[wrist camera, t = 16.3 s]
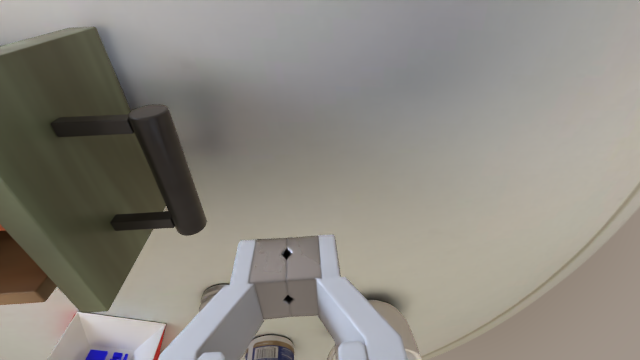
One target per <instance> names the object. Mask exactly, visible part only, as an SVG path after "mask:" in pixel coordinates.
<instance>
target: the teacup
mask: <svg viewBox="0 0 640 360" xmlns="http://www.w3.org/2000/svg"><path fill="white" fill-rule="evenodd" d="M368 301H369V302H370V303H371V304H372V305H373V307H374V308H375V309H376V310H377V311H378V312H379V313H380V314H381V315H382V316H383V317H384V318H385V319H386V320H387V322H388V323H389V324H390V325H391V326H392V327H393V328H394V329H395V330H396V331H397V332H398V333H399V334H400V335H401V337H402V340H403V344H404V347H405V351H406V354H407V358H408V360H422V359H421V356H420V353H419V350H418V347H417V344H416V341H415V339H414V336H413V334H412V331H411V329H410V327H409V324H408V322H407V321H406V319H405V317H404V316H403V315H402V314H401V313H400V312H399V311H398V310H397V309H396V308H395V307H394V306H392V305H390V304H388V303H386V302H382V301H379V300H368ZM338 348H339V347H338V346H337V344H336V343H335V346H334V347H333V348H332V350H331V351H330V353H329V355H328V358H327V360H332V359H333V356H334V355H335V353H336V360H338Z"/></svg>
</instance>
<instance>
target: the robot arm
mask: <svg viewBox="0 0 640 360" xmlns="http://www.w3.org/2000/svg"><path fill="white" fill-rule="evenodd" d="M314 315H318V316H319V318H320V320H321V321H322V323H323V324H324V326H325V327H326V329H327V330H328V332H329V333H330V335H331V336H332V338H333V339H334V341H335V343H336V344H337V346H338V347H339V348H338V360H408V358H407V354H406V351H405V347H404V344H403V340H402V337H401V335H400V334H399V333H398V332H397V331H396V330H395V329H394V328H393V327H392V326H391V325H390V324H389V323H388V322H387V320H386V319H385V318H384V317H383V316H382V315H381V314H380V313H379V312H378V311H377V310H376V309H375V308H374V307H373V305H372V304H371V303H370V302H369V301H368V300H367V299H366V298H365V297H364V296H363V295H362V294H361V293H360V292H359V291H358V289H357V288H356V287H355V286H354V285H353V284H352V283H351V282H350V281H349V280H348V279H347V278H346V277H341V275H340V268H339V261H338V254H337V247H336V240H335V236H334V234H332V235H319V236H318V235H317V236H304V237H290V238H276V239H257V240H241V241H240V242H239V244H238V248H237V253H236V258H235V262H234V267H233V271H232V276H231V281H230V285H224V286H223V288H222V289H221V290H220V291H219V292H218V293H217V294H216V295H215V296H214V297H213V298H212V299H211V300H210V301H209V303H208V304H207V305H206V306H205V307H204V308H203V309H202V310H201V311H200V312H199V313H198V314H197V315H196V316H195V318H194V319H193V320H192V321H191V322H190V323H189V324H188V325H187V326H186V327H185V328H184V329H183V330H182V331H181V332H180V334H179V335H178V336H177V337H176V338H175V339H174V340H173V341H172V342H171V343H170V344H169V345H168V346H167V347H166V349H165V350H164V351H163V352H162V353H161V354H160V356H159V358H158V360H240V358H241V357H242V355H243V354H244V352H245V350H246V349H247V347H248V346H249V344H250V342H251V341H252V339H253V338H254V336H255V334H256V333H257V331H258V330H259V328H260V326H261V325H262V323H263V322H264V320H263V319H272V318H282V317H293V316H314Z"/></svg>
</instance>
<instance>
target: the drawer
mask: <svg viewBox="0 0 640 360" xmlns="http://www.w3.org/2000/svg"><path fill="white" fill-rule="evenodd" d="M166 206H167V209H168V211H165V212H163V210H164V208H165V207H166ZM206 222H207V220H206V217H205V214H204V211H203V208H202V205H201V202H200V199H199V196H198V194H197V191H196V188H195V185H194V182H193V179H192V176H191V173H190V170H189V167H188V164H187V161H186V158H185V155H184V152H183V149H182V147H181V144H180V141H179V138H178V135H177V132H176V129H175V126H174V123H173V120H172V117H171V114H170V111H169V109H168V108H167V106H165V105H146V106H142V107H139V108H136V109H134V110H132V111H131V110H130V108H129V105H128V103H127V101H126V98H125V96H124V94H123V91H122V89H121V86H120V84H119V82H118V79H117V77H116V75H115V72H114V70H113V67H112V65H111V63H110V60H109V58H108V56H107V53H106V51H105V48H104V46H103V44H102V41H101V39H100V37H99V34H98V32H97V30H96V28H95V27H79V28H67V29H63V30H59V31H56V32H52V33H48V34H44V35H41V36H37V37H33V38H29V39H26V40H22V41H18V42H14V43H11V44H7V45H3V46H0V225H1V226H2V227H3V228H4V229H5V230H6V231H0V305H7V304H22V303H36V302H45V301H46V300H47V299H48V297H49V296H50V295H51V293H52V292H53V291H54V289H55V288H56V287H58V288H59V289H60V290H61V291H62V292H63V293H64V294H65V295H66V296H67V297H68V299H69V300H70V301H71V302H72V303H73V304H74V305H75V306H76V307H77V308H78V309H79V311H80V312H82V313H87V312H101V311H108V310H109V309H110V307H111V305H112V303H113V301H114V300H115V298H116V296H117V294H118V292H119V290H120V289H121V287H122V285H123V283H124V281H125V279H126V278H127V276H128V274H129V272H130V270H131V269H132V267H133V265H134V263H135V261H136V259H137V258H138V256H139V254H140V252H141V250H142V248H143V247H144V245H145V243H146V241H147V239H148V238H149V236H150V234H151V232H152V230H153V229H159V228H174V227H176V229H177V231H178V233H180V234H182V235H193V234H196V233H198V232H200V231H201V230H202V229H203V228H204V227H205V226H206Z"/></svg>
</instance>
